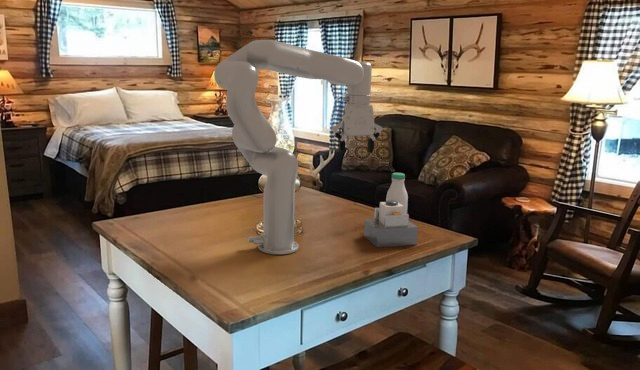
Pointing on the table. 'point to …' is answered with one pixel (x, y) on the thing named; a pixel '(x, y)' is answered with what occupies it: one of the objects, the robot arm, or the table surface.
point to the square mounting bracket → (391, 230)
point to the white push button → (389, 209)
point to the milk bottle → (398, 190)
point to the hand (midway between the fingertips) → (356, 152)
